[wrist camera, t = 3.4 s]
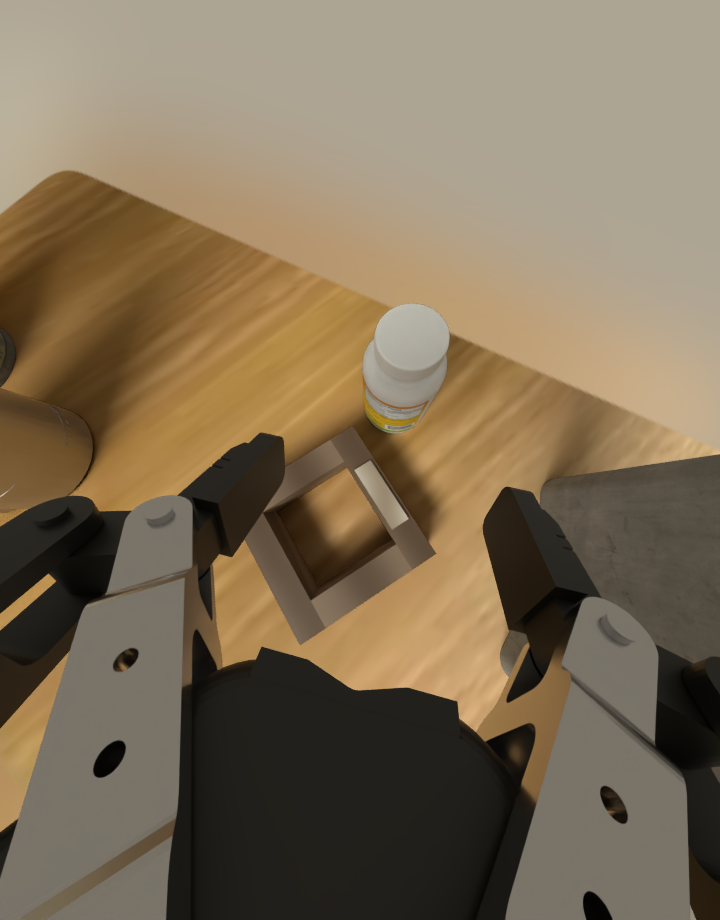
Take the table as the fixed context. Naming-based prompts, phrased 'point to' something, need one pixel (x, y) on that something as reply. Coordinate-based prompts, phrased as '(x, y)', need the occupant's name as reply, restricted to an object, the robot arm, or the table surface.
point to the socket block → (359, 582)
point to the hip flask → (647, 549)
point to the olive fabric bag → (6, 356)
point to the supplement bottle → (404, 366)
